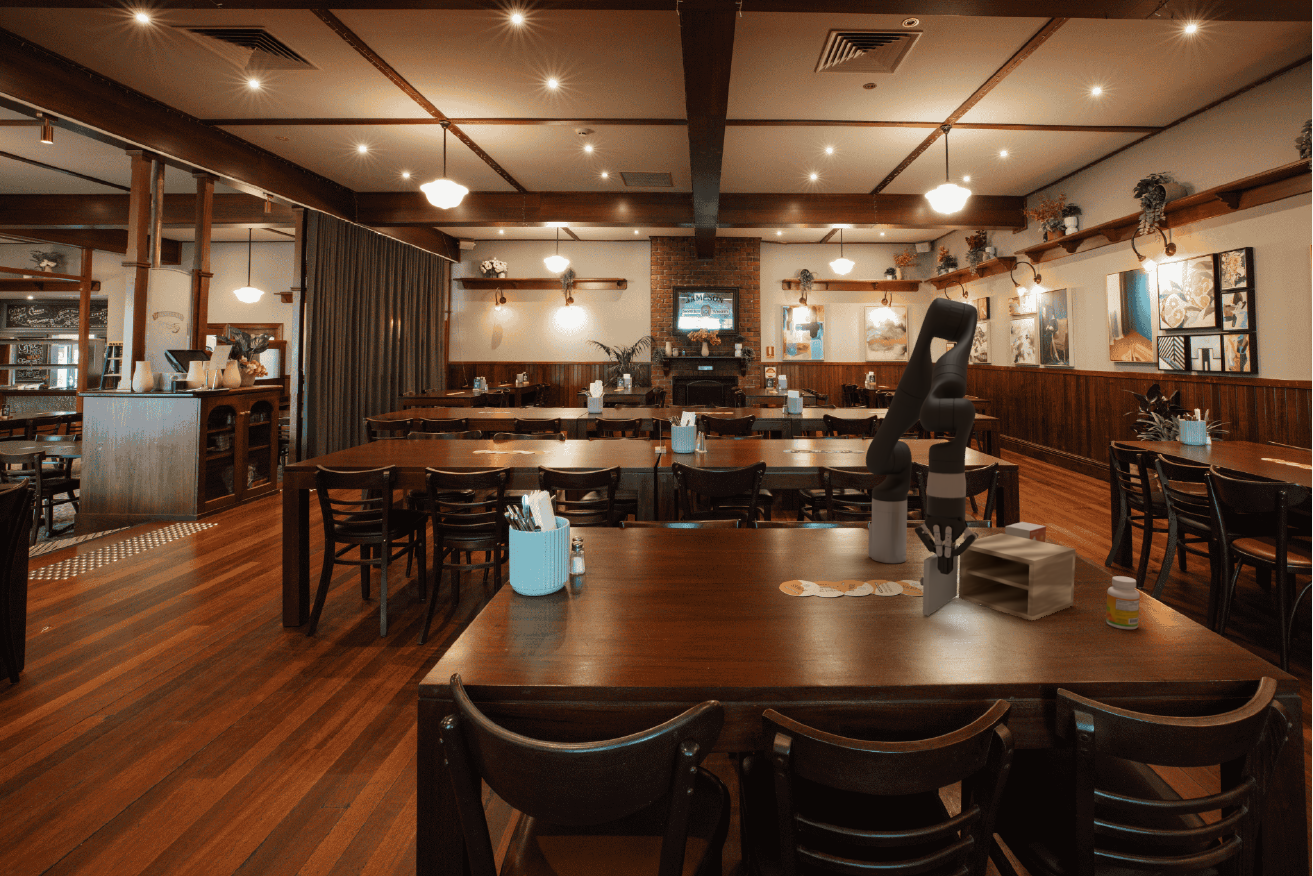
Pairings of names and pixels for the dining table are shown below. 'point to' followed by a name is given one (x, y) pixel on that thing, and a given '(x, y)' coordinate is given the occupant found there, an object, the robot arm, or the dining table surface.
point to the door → (938, 584)
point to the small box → (1027, 531)
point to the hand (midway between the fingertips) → (945, 573)
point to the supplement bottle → (1123, 603)
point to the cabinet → (1017, 575)
